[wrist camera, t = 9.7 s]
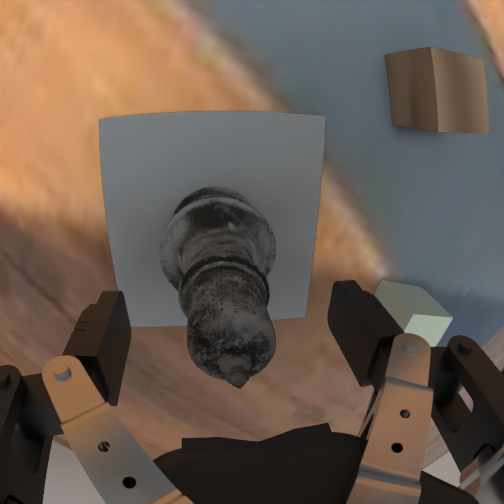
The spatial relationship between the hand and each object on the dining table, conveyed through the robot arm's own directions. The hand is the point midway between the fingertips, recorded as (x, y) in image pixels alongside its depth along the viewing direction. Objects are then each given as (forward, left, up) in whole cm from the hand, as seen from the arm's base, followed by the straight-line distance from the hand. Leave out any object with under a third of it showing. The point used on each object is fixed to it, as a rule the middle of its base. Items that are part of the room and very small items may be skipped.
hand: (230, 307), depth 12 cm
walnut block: (-14, -10, -9) cm, 19 cm away
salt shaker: (0, 0, -8) cm, 8 cm away
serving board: (0, 0, -9) cm, 9 cm away
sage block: (-15, +8, -9) cm, 19 cm away
